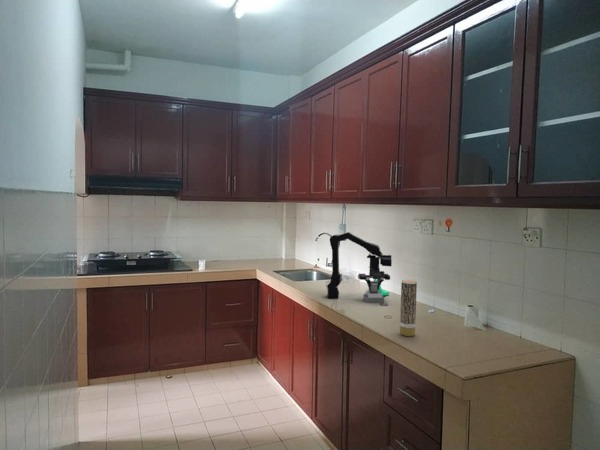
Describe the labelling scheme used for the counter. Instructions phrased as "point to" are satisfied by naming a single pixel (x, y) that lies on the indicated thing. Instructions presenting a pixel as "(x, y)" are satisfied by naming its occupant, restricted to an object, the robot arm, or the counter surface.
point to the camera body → (373, 297)
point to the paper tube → (408, 307)
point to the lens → (373, 286)
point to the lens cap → (383, 304)
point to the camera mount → (382, 291)
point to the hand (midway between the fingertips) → (373, 290)
